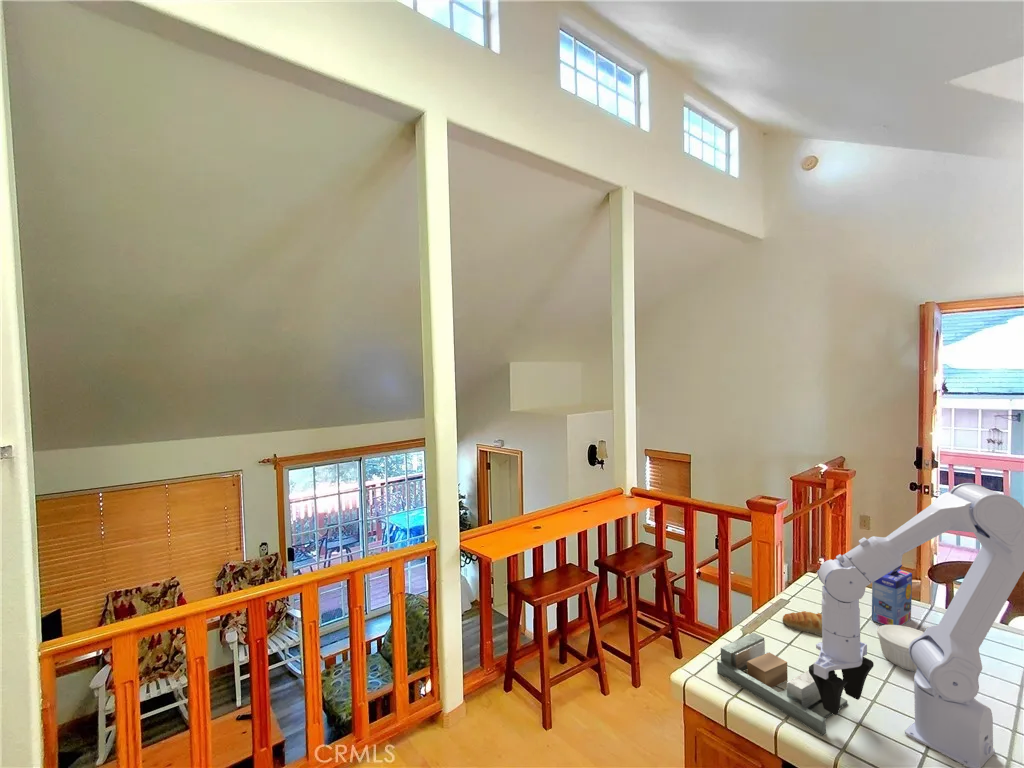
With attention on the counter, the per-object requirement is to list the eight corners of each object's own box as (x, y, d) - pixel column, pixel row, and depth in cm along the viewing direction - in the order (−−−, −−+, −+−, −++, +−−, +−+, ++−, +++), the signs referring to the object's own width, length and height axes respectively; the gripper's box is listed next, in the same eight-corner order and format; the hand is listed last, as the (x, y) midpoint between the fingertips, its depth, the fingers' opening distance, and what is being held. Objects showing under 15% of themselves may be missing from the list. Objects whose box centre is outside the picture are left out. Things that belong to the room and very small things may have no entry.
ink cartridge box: (897, 631, 116) (896, 571, 116) (870, 621, 120) (869, 564, 120) (913, 619, 121) (912, 563, 121) (887, 611, 126) (886, 556, 125)
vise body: (859, 709, 89) (858, 683, 89) (822, 735, 82) (822, 707, 82) (754, 654, 107) (753, 632, 107) (717, 672, 101) (716, 649, 101)
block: (787, 681, 98) (787, 662, 98) (765, 691, 94) (764, 671, 94) (769, 671, 101) (769, 652, 101) (747, 680, 98) (747, 661, 98)
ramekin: (958, 680, 97) (958, 654, 97) (896, 674, 99) (895, 649, 99) (923, 649, 108) (922, 626, 108) (867, 645, 110) (867, 622, 110)
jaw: (832, 691, 92) (832, 670, 92) (802, 710, 87) (801, 689, 87) (817, 683, 95) (816, 663, 95) (786, 701, 90) (785, 680, 90)
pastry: (785, 631, 117) (785, 615, 117) (779, 618, 123) (779, 603, 123) (829, 637, 114) (829, 621, 114) (821, 623, 120) (821, 608, 120)
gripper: (837, 610, 93) (838, 678, 93) (795, 630, 86) (796, 704, 86) (879, 625, 87) (880, 699, 87) (838, 649, 80) (839, 729, 80)
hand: (841, 703), depth 86 cm, fingers open, 7 cm apart
